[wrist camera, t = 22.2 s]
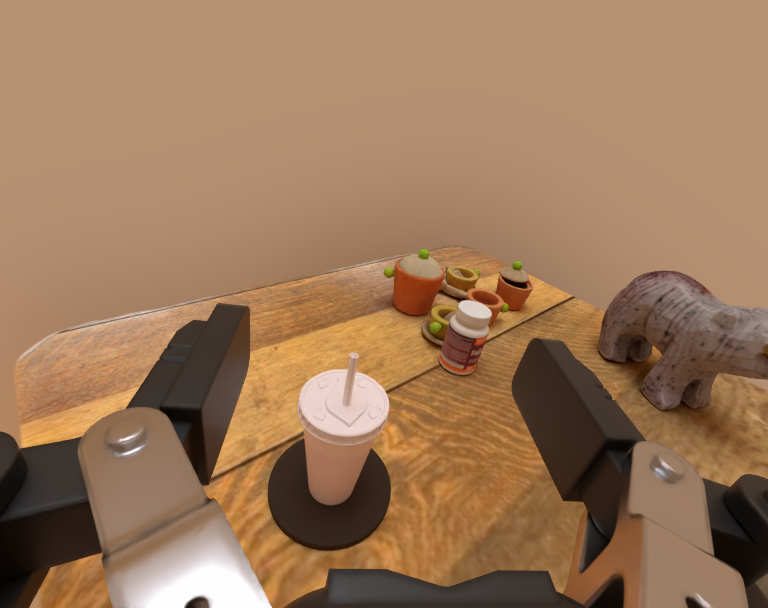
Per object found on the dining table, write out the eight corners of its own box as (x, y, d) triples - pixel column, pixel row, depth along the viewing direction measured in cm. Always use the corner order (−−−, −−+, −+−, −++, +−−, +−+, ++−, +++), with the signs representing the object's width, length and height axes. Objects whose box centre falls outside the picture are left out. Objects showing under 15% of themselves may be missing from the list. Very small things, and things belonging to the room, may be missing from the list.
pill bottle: (470, 381, 47) (491, 325, 42) (433, 366, 48) (450, 310, 44) (478, 361, 51) (498, 307, 46) (444, 347, 52) (460, 294, 48)
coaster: (289, 575, 26) (290, 571, 26) (254, 457, 33) (254, 452, 33) (411, 517, 31) (413, 513, 31) (358, 425, 38) (359, 421, 38)
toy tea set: (446, 361, 49) (466, 296, 44) (367, 304, 58) (377, 245, 53) (539, 310, 66) (561, 259, 61) (467, 271, 75) (482, 224, 70)
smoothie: (291, 526, 28) (302, 385, 21) (291, 452, 33) (301, 319, 26) (376, 518, 30) (413, 384, 23) (363, 448, 35) (390, 322, 28)
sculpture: (732, 460, 43) (835, 355, 35) (566, 353, 56) (615, 259, 48) (756, 419, 50) (846, 325, 42) (604, 332, 63) (652, 249, 55)
